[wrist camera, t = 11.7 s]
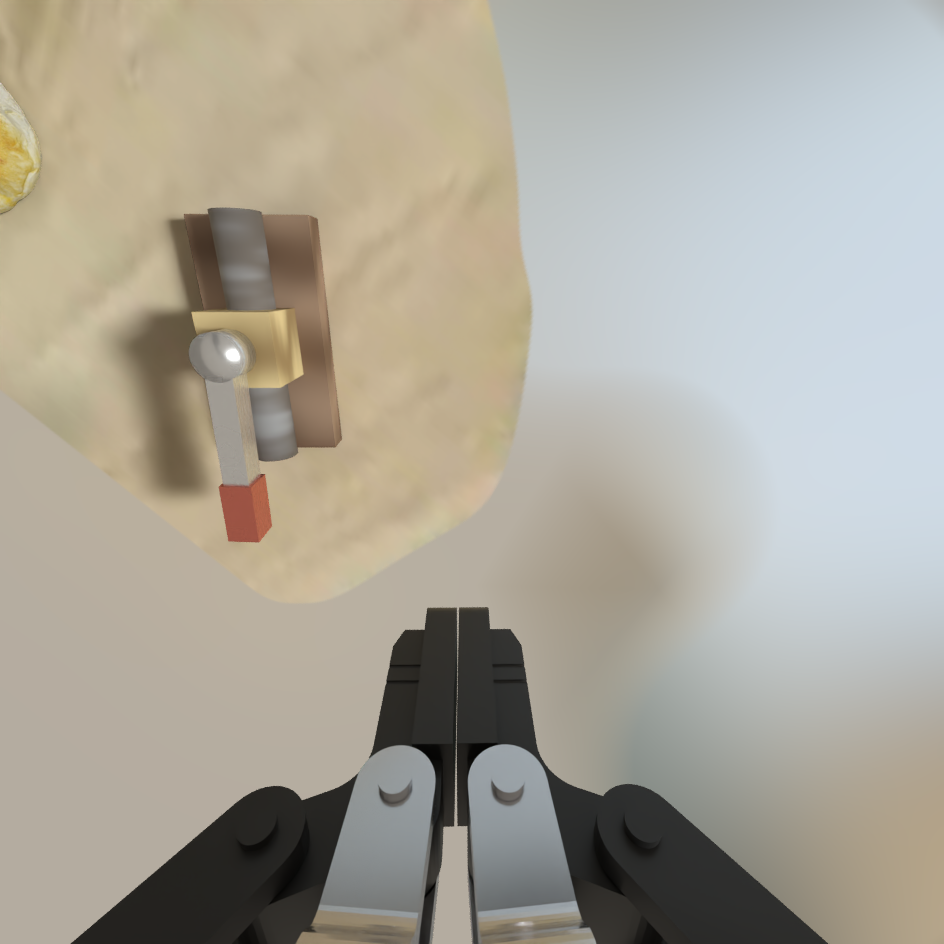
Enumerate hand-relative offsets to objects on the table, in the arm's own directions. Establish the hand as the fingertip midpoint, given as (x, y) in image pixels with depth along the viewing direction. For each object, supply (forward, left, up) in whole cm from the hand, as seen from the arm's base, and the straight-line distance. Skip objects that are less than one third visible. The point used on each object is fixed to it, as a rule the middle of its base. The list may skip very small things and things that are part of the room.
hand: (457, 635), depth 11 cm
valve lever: (+1, -14, -20) cm, 24 cm away
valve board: (-4, -14, -27) cm, 31 cm away
